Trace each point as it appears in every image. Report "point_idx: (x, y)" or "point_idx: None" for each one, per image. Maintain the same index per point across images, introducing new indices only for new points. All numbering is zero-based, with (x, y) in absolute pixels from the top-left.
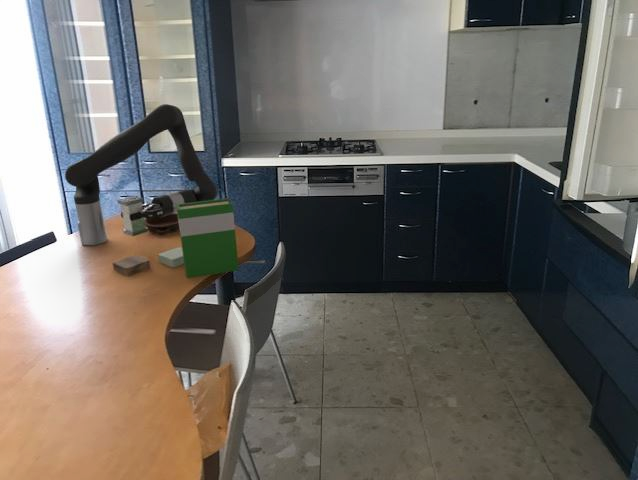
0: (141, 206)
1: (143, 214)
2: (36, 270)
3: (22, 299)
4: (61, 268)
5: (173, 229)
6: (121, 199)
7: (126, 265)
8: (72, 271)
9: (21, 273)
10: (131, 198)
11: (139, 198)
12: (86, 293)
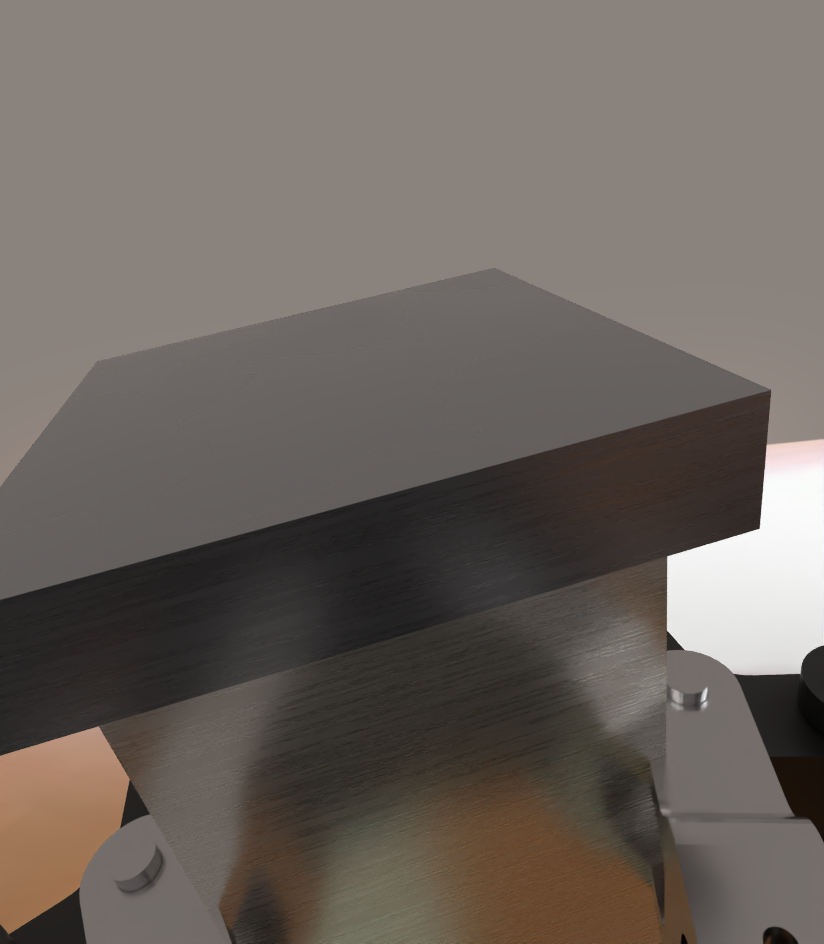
0: (150, 795)
1: (80, 916)
2: (805, 512)
3: None
4: (799, 592)
5: None
6: (468, 292)
7: None
8: (715, 636)
9: (780, 476)
10: (354, 383)
11: (58, 531)
12: None
